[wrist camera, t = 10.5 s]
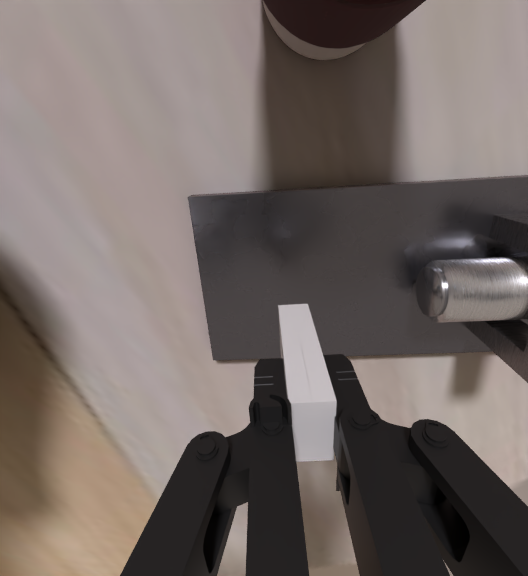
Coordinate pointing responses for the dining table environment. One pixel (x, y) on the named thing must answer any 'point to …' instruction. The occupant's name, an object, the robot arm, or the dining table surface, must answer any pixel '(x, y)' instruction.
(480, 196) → the grey holder stand
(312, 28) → the coffee cup
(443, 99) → the dining table surface
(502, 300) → the tube
